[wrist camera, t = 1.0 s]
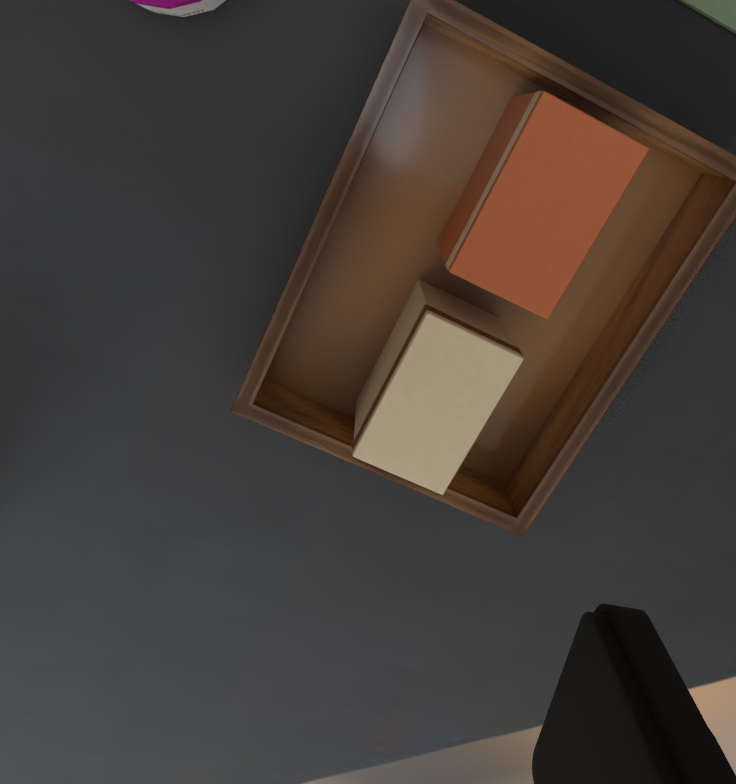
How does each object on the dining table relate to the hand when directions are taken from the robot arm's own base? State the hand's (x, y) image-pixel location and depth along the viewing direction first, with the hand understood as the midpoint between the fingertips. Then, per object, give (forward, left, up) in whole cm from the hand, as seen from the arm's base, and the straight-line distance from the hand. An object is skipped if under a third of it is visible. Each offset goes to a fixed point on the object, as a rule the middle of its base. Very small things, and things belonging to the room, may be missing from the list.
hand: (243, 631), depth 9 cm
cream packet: (+7, -3, -29) cm, 30 cm away
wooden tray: (+7, +2, -29) cm, 30 cm away
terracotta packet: (+7, +7, -29) cm, 30 cm away
